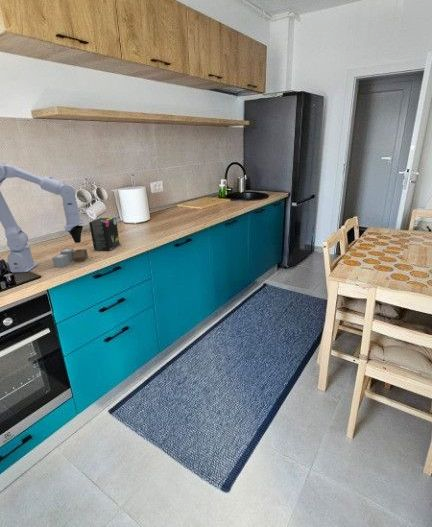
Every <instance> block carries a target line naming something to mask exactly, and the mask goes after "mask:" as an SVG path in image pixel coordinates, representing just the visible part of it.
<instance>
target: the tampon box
mask: <svg viewBox="0 0 432 527" xmlns="http://www.w3.org/2000/svg"><path fill="white" fill-rule="evenodd" d="M88 224H89V229H90V234H91V241H92V244H93V250H94V251H102V252H103V251H104V252H105V251H107V252H109V251H110V252H111V251H112V250H114V249H115V248H117V247H118V246H120V239H119V238H120V236H119V230H118V222H117V218H116V217H99V218H96V219H94V220H91V221H89V222H88Z"/></svg>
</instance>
